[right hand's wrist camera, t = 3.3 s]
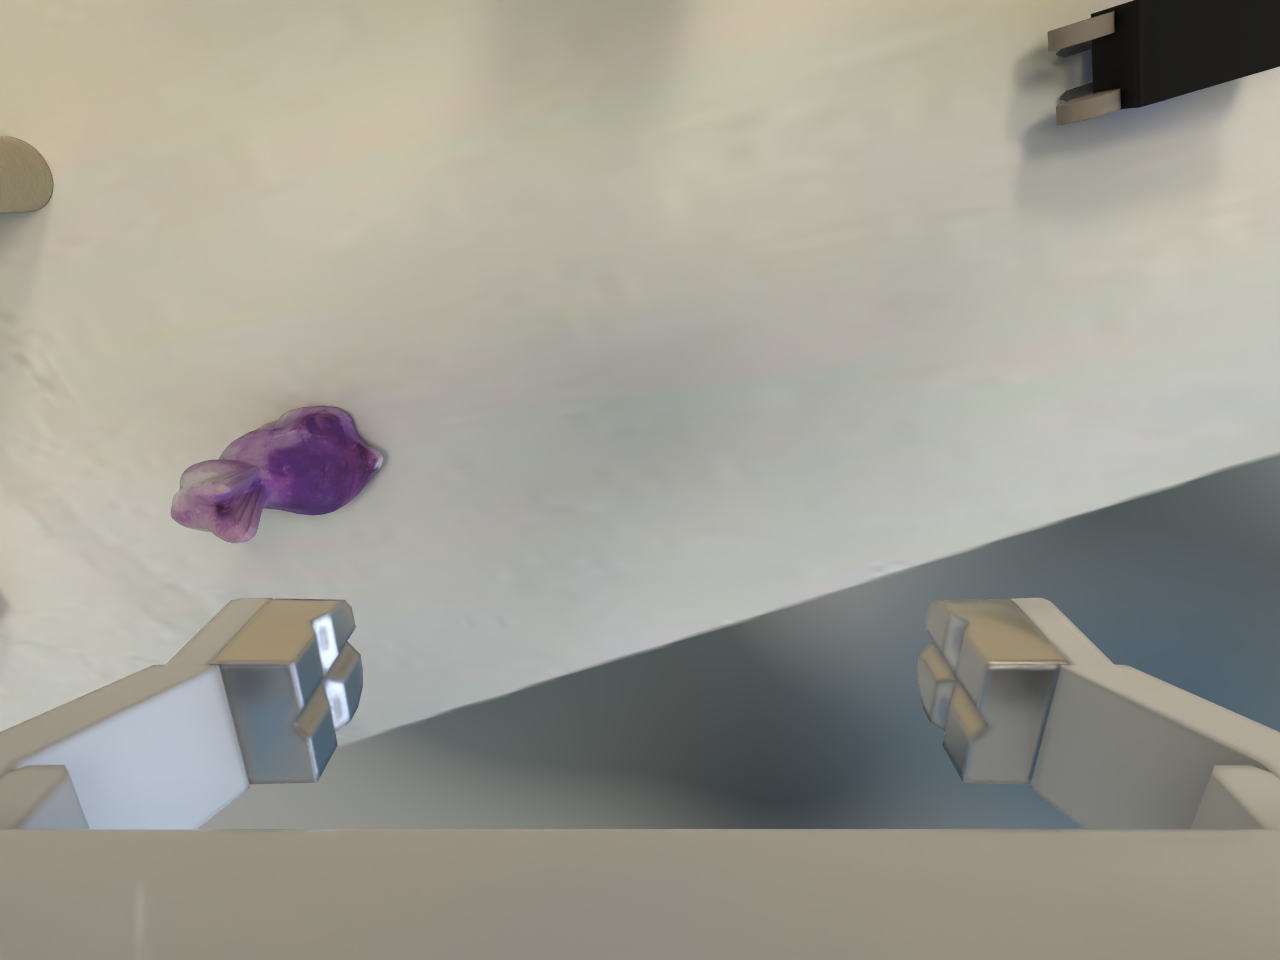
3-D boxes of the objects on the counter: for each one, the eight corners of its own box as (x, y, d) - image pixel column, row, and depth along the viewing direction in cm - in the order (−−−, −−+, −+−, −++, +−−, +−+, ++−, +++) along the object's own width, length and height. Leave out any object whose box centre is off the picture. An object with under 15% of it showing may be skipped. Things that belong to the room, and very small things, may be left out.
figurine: (229, 454, 60) (106, 534, 46) (305, 371, 57) (197, 429, 43) (321, 529, 63) (230, 626, 49) (397, 453, 60) (324, 532, 46)
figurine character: (1030, 138, 52) (1264, 66, 49) (1076, 135, 46) (1352, 50, 42) (1020, 36, 50) (1266, -47, 47) (1066, 16, 43) (1359, -84, 40)
